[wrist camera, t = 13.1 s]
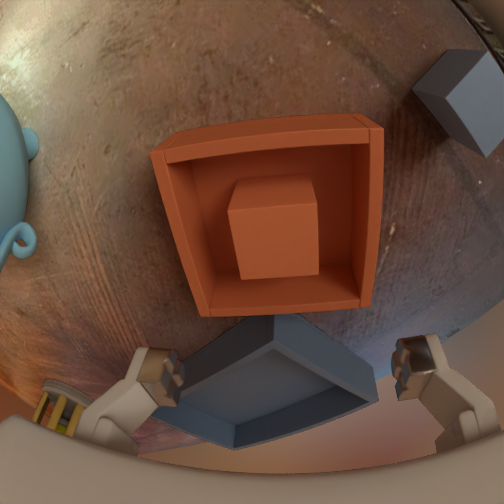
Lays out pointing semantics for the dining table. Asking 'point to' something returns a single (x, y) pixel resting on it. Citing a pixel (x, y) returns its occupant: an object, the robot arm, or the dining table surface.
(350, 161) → the terracotta bin
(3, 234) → the teapot
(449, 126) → the blue block
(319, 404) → the blue bin
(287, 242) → the terracotta block
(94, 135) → the dining table surface
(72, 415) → the lantern
